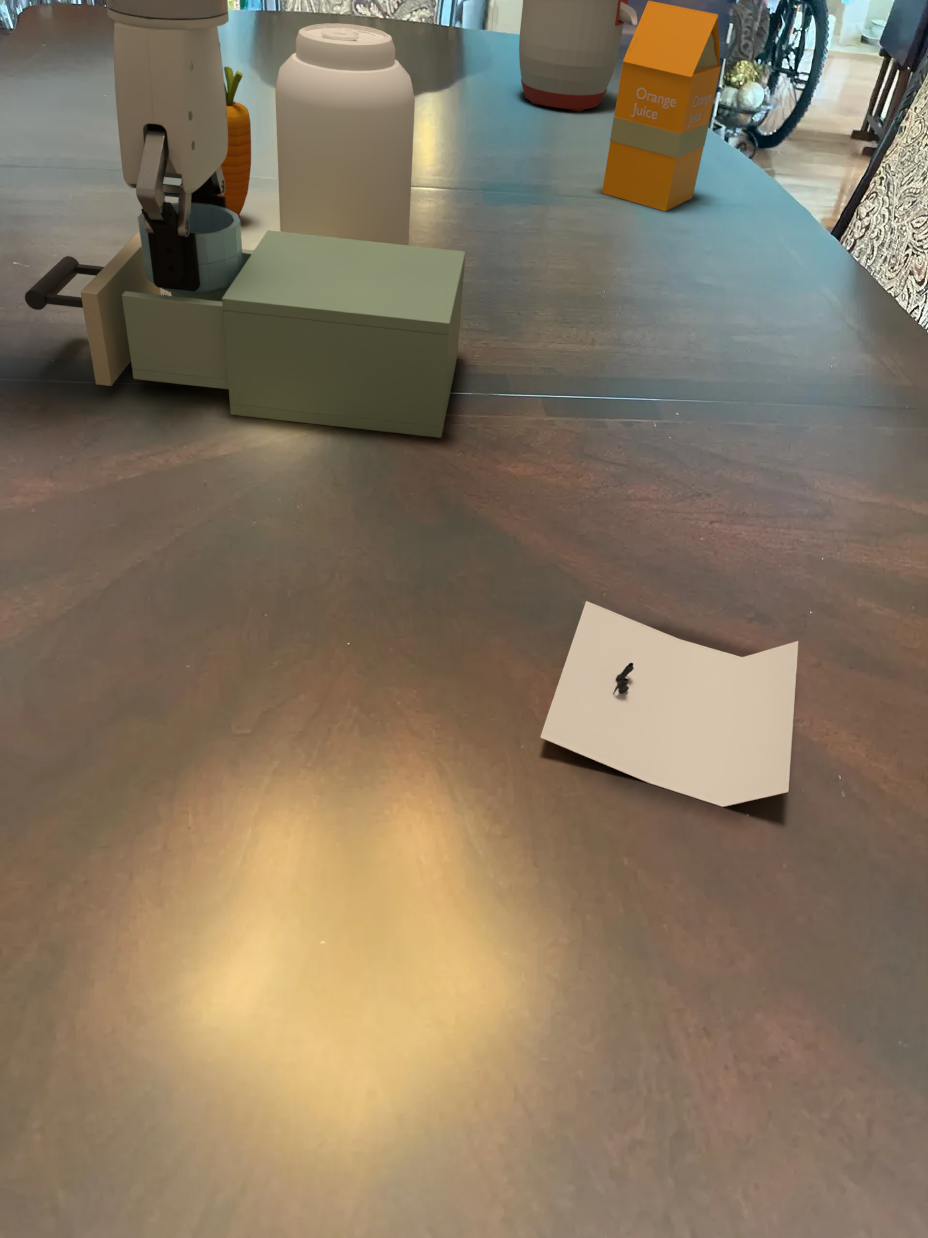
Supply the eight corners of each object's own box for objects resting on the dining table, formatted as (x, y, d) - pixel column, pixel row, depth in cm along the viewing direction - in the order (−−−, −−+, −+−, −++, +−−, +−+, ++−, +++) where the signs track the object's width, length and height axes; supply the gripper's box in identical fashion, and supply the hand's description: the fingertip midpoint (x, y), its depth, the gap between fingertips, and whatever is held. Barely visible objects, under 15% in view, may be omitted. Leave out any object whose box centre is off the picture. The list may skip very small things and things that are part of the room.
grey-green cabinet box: (230, 414, 76) (221, 297, 70) (272, 336, 86) (267, 229, 80) (441, 438, 75) (449, 322, 70) (457, 356, 86) (465, 251, 80)
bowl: (132, 292, 74) (123, 229, 71) (162, 257, 79) (156, 197, 76) (229, 303, 73) (224, 240, 71) (253, 266, 79) (249, 207, 76)
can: (376, 293, 95) (382, 53, 82) (257, 266, 98) (245, 29, 85) (426, 251, 104) (439, 29, 91) (316, 227, 107) (313, 9, 94)
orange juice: (630, 179, 129) (663, -4, 116) (693, 197, 125) (734, 11, 112) (600, 192, 123) (630, 3, 111) (665, 211, 120) (704, 18, 107)
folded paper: (583, 615, 61) (588, 589, 59) (788, 666, 59) (798, 640, 57) (536, 755, 52) (541, 728, 50) (776, 821, 50) (788, 795, 48)
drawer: (22, 376, 76) (1, 283, 71) (84, 308, 85) (69, 222, 81) (290, 405, 75) (287, 314, 71) (322, 334, 85) (321, 250, 80)
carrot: (265, 225, 106) (257, 66, 96) (220, 232, 104) (208, 69, 94) (244, 210, 109) (235, 54, 99) (201, 216, 107) (187, 56, 97)
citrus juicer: (611, 123, 149) (636, -37, 136) (498, 104, 153) (513, -55, 140) (632, 101, 161) (657, -49, 148) (527, 83, 164) (543, -65, 151)
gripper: (151, -34, 71) (178, 223, 82) (54, 9, 58) (102, 308, 69) (257, -24, 71) (269, 232, 82) (185, 22, 58) (211, 320, 69)
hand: (193, 265), depth 76 cm, fingers closed on bowl, 7 cm apart
